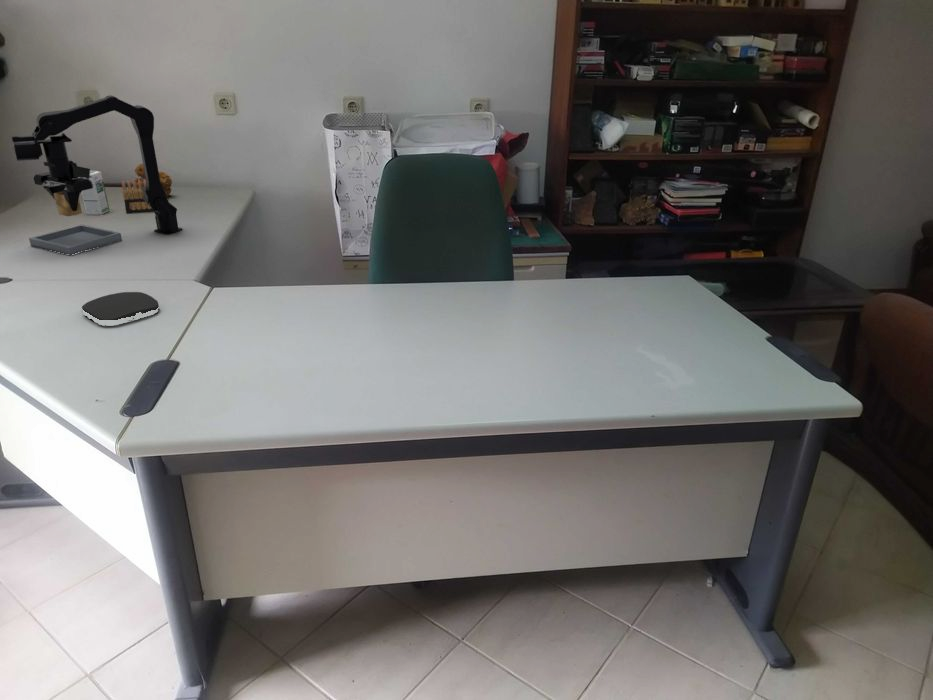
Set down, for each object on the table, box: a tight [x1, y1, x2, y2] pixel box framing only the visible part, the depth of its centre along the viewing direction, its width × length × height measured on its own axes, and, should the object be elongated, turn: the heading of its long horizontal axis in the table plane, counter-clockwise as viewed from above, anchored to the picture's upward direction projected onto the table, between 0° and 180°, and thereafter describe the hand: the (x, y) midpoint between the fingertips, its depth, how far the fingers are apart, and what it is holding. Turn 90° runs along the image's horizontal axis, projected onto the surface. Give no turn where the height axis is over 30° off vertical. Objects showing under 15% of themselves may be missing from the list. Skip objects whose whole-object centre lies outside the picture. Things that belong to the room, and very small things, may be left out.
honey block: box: [54, 192, 83, 217], centre depth 201 cm, size 4×4×6 cm
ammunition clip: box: [121, 179, 156, 215], centre depth 238 cm, size 11×2×12 cm, turn 113°
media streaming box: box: [81, 291, 160, 320], centre depth 161 cm, size 15×15×3 cm
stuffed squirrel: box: [134, 163, 173, 197], centre depth 257 cm, size 10×14×13 cm
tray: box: [28, 224, 123, 256], centre depth 206 cm, size 18×18×2 cm
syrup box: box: [78, 170, 111, 216], centre depth 235 cm, size 6×6×14 cm
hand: (69, 209), depth 202 cm, fingers closed on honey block, 4 cm apart
